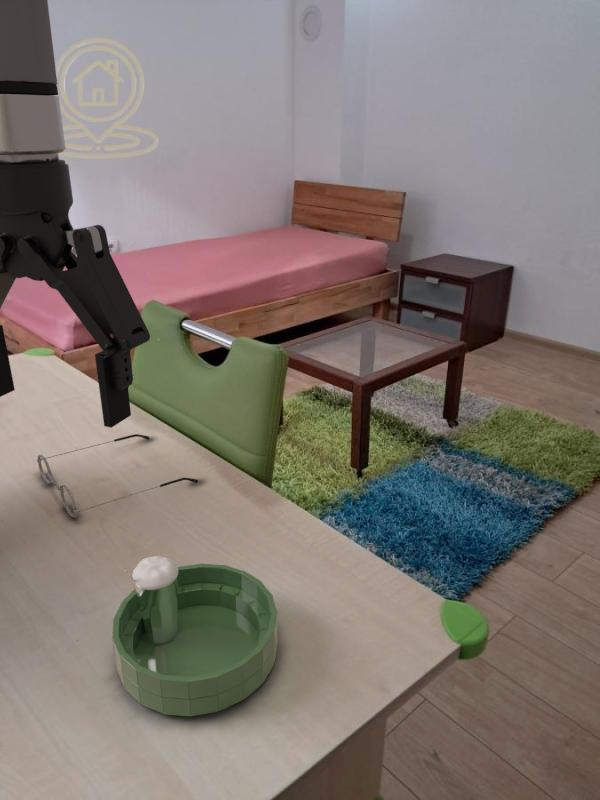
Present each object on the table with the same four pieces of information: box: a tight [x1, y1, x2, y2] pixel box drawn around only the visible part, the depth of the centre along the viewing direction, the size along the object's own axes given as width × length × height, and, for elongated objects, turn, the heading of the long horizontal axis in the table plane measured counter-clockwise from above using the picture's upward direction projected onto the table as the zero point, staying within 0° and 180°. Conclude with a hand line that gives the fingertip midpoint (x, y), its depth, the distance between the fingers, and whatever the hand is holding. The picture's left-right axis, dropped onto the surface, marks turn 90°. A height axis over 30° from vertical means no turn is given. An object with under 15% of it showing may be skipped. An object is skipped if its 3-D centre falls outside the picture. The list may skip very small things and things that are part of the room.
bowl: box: [111, 563, 278, 717], centre depth 65 cm, size 16×16×5 cm
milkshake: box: [123, 555, 179, 644], centre depth 65 cm, size 4×5×10 cm
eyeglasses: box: [36, 433, 199, 518], centre depth 97 cm, size 18×19×4 cm
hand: (56, 407), depth 57 cm, fingers open, 13 cm apart
